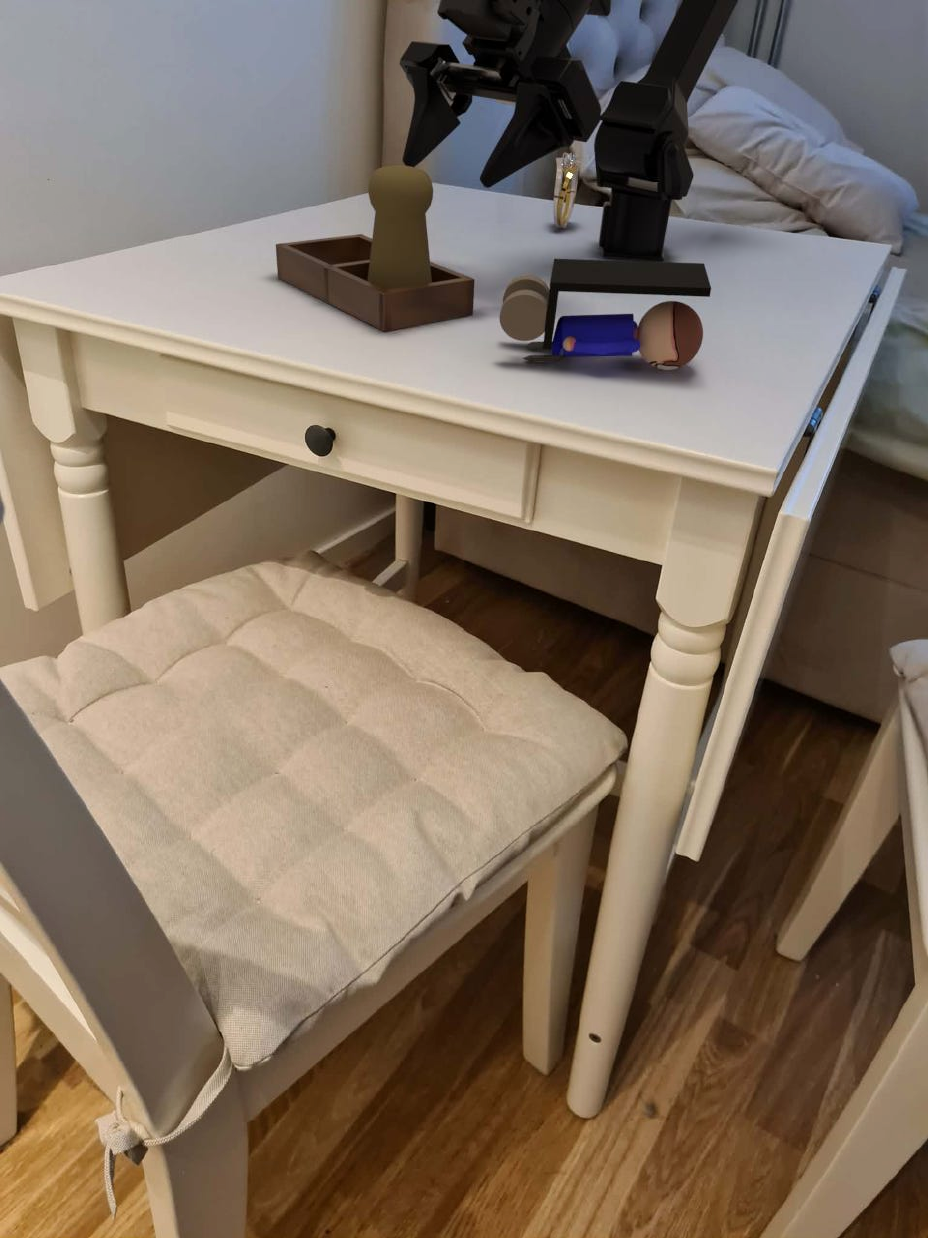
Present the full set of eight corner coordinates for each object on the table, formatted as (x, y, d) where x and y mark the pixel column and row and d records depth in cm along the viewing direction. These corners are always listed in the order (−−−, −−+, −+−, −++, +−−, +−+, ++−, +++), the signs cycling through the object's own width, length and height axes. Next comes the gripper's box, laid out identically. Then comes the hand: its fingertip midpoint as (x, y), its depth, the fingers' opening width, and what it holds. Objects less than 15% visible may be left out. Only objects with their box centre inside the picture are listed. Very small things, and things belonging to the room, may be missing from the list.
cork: (444, 303, 78) (449, 165, 72) (419, 323, 73) (423, 176, 67) (380, 294, 79) (380, 157, 73) (353, 312, 75) (350, 168, 68)
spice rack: (361, 266, 87) (361, 233, 85) (473, 314, 76) (475, 278, 74) (277, 277, 82) (275, 243, 80) (383, 331, 71) (383, 293, 69)
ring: (565, 235, 102) (574, 158, 98) (539, 231, 103) (547, 154, 99) (582, 224, 108) (591, 150, 103) (557, 220, 109) (565, 147, 104)
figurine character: (500, 387, 66) (704, 382, 65) (495, 282, 62) (715, 274, 60) (506, 357, 72) (695, 352, 70) (502, 259, 68) (704, 251, 66)
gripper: (417, -78, 72) (315, 84, 72) (599, -76, 62) (480, 113, 62) (479, 37, 81) (388, 181, 81) (646, 56, 71) (543, 220, 71)
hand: (443, 174), depth 73 cm, fingers open, 9 cm apart
